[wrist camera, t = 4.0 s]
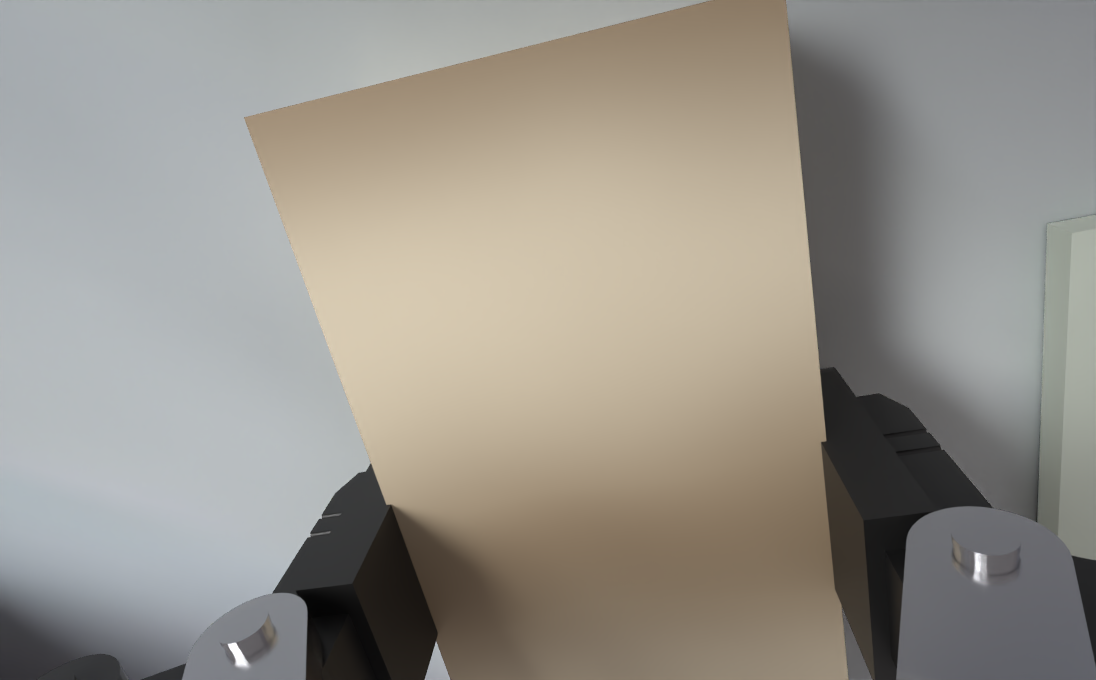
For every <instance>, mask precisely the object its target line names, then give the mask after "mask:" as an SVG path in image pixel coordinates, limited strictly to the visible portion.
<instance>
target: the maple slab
mask: <svg viewBox="0 0 1096 680" xmlns="http://www.w3.org/2000/svg"><path fill="white" fill-rule="evenodd" d="M244 119H245V121H246V124H247V127H248V130H249V132H250V135H251V138H252V140H253V143H254V146H255V149H256V151H257V154H258V157H259V160H260V162H261V165H262V168H263V170H264V173H265V176H266V179H267V181H268V184H269V187H270V189H271V192H272V195H273V198H274V200H275V203H276V206H277V209H278V211H279V214H280V217H281V219H282V222H283V225H284V228H285V230H286V233H287V236H288V238H289V241H290V244H291V247H292V249H293V252H294V255H295V258H296V260H297V263H298V266H299V268H300V271H301V274H302V277H303V279H304V282H305V285H306V287H307V290H308V293H309V296H310V298H311V301H312V304H313V307H314V309H315V312H316V315H317V317H318V320H319V323H320V326H321V328H322V331H323V334H324V336H325V339H326V342H327V345H328V347H329V350H330V353H331V356H332V358H333V361H334V364H335V366H336V369H337V372H338V375H339V377H340V380H341V383H342V385H343V388H344V391H345V394H346V396H347V399H348V402H349V405H350V407H351V410H352V413H353V415H354V418H355V421H356V424H357V426H358V429H359V432H360V434H361V437H362V440H363V443H364V445H365V448H366V451H367V454H368V456H369V459H370V462H371V464H372V467H373V470H374V473H375V475H376V478H377V481H378V483H379V486H380V489H381V492H382V494H383V497H384V500H385V503H386V505H390V504H391V506H392V508H393V511H394V514H395V516H396V519H397V522H398V525H399V527H400V530H401V533H402V536H403V538H404V541H405V544H406V547H407V549H408V552H409V555H410V558H411V560H412V563H413V566H414V569H415V571H416V574H417V577H418V580H419V582H420V585H421V588H422V591H423V593H424V596H425V599H426V602H427V604H428V607H429V610H430V612H431V615H432V618H433V621H434V623H435V626H436V629H437V632H438V636H437V639H436V641H437V644H438V647H439V650H440V652H441V655H442V658H443V660H444V663H445V666H446V669H447V671H448V674H449V677H450V679H451V680H848V670H847V659H846V648H845V637H844V626H843V615H842V605H841V603H840V600H839V598H838V595H837V593H836V591H835V585H834V574H833V564H832V554H831V543H830V533H829V522H828V512H827V501H826V491H825V480H824V470H823V459H822V449H821V442H824V441H826V431H825V420H824V409H823V398H822V387H821V376H820V365H819V354H818V344H817V333H816V322H815V311H814V300H813V289H812V278H811V268H810V257H809V246H808V235H807V224H806V213H805V202H804V191H803V181H802V170H801V159H800V148H799V137H798V126H797V115H796V105H795V94H794V83H793V72H792V61H791V50H790V39H789V28H788V18H787V7H786V0H712V1H708V2H704V3H700V4H696V5H692V6H688V7H684V8H680V9H676V10H672V11H668V12H664V13H660V14H656V15H652V16H648V17H644V18H640V19H636V20H632V21H628V22H624V23H620V24H616V25H612V26H608V27H604V28H600V29H596V30H592V31H588V32H584V33H580V34H576V35H572V36H568V37H564V38H560V39H556V40H552V41H548V42H544V43H540V44H536V45H532V46H528V47H524V48H520V49H516V50H512V51H508V52H504V53H500V54H496V55H492V56H488V57H484V58H480V59H476V60H472V61H468V62H464V63H460V64H456V65H452V66H448V67H444V68H440V69H436V70H432V71H428V72H424V73H420V74H416V75H412V76H408V77H404V78H400V79H396V80H392V81H388V82H384V83H380V84H376V85H372V86H368V87H364V88H360V89H356V90H352V91H348V92H344V93H340V94H336V95H332V96H328V97H324V98H320V99H316V100H312V101H308V102H304V103H300V104H296V105H292V106H288V107H284V108H280V109H276V110H272V111H268V112H264V113H260V114H256V115H252V116H248V117H244Z"/></svg>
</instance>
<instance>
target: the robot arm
mask: <svg viewBox="0 0 1096 680" xmlns="http://www.w3.org/2000/svg"><path fill="white" fill-rule="evenodd" d="M820 376H821V387H822V398H823V409H824V420H825V431H826V441H824V442H821V449H822V459H823V470H824V480H825V491H826V501H827V512H828V522H829V533H830V543H831V554H832V564H833V574H834V585H835V591H836V593H837V595H838V598H839V600H840V603H841V605H842V607H843V610H844V612H845V615H846V617H847V619H848V622H849V624H850V627H851V629H852V631H853V634H854V636H855V638H856V641H857V643H858V646H859V648H860V650H861V653H862V655H863V658H864V660H865V662H866V665H867V667H868V670H869V672H870V674H871V677H872V679H873V680H1096V560H1091V559H1086V558H1081V557H1077V556H1073V555H1071V553H1070V551H1069V549H1068V548H1067V546H1066V545H1065V543H1064V542H1063V541H1062V540H1061V539H1060V538H1059V537H1058V536H1057V535H1055V534H1054V533H1053V532H1051V531H1050V530H1049V529H1047V528H1046V527H1044V526H1042V525H1041V524H1039V523H1037V522H1035V521H1033V520H1031V519H1028V518H1026V517H1024V516H1021V515H1018V514H1015V513H1012V512H1008V511H1004V510H999V509H994V508H992V506H991V505H990V504H989V503H988V502H987V500H986V499H985V498H984V497H983V496H982V494H981V493H980V492H979V491H978V490H977V489H976V487H975V486H974V485H973V484H972V483H971V481H970V480H969V479H968V478H967V477H966V475H965V474H964V473H963V472H962V471H961V470H960V468H959V467H958V466H957V465H956V464H955V462H954V461H953V460H952V459H951V458H950V457H949V455H948V454H947V453H946V452H945V451H944V450H941V448H940V445H939V443H938V442H937V441H936V440H935V439H934V438H933V436H932V435H931V434H930V433H927V432H926V428H925V427H924V426H923V424H922V423H921V422H920V421H919V420H918V419H917V417H916V416H915V415H914V414H913V413H912V411H911V410H910V409H909V408H907V407H905V406H903V405H901V404H899V403H897V402H895V401H893V400H891V399H889V398H887V397H885V396H883V395H881V394H879V393H878V394H872V395H865V396H859V397H856V396H855V395H854V393H853V392H852V391H851V389H850V388H849V386H848V385H847V384H846V382H845V381H844V380H843V378H842V377H841V375H840V374H839V373H838V371H837V370H836V369H835V368H834V367H831V368H825V369H820ZM310 534H311V537H309V538H307V539H306V541H305V542H304V544H303V545H302V547H301V549H300V550H299V552H298V553H297V555H296V556H295V558H294V560H293V561H292V563H291V564H290V566H289V568H288V569H287V571H286V572H285V574H284V576H283V577H282V579H281V580H280V582H279V583H278V585H277V587H276V588H275V590H274V591H273V593H272V594H268V595H264V596H261V597H258V598H255V599H252V600H250V601H247V602H245V603H243V604H241V605H239V606H237V607H235V608H234V609H232V610H230V611H229V612H227V613H226V614H224V615H223V616H222V617H220V618H219V619H218V620H216V621H215V622H214V623H213V624H212V625H211V626H209V627H208V628H207V629H206V630H205V631H204V633H203V634H202V635H201V636H200V637H199V638H198V640H197V641H196V642H195V644H194V645H193V647H192V649H191V651H190V653H189V656H188V659H187V662H186V664H183V665H181V666H178V667H175V668H172V669H170V670H167V671H164V672H161V673H158V674H156V675H153V676H150V677H147V678H145V679H142V680H424V679H425V676H426V673H427V669H428V666H429V663H430V659H431V656H432V652H433V649H434V646H435V642H436V639H437V636H438V632H437V629H436V626H435V623H434V621H433V618H432V615H431V612H430V610H429V607H428V604H427V602H426V599H425V596H424V593H423V591H422V588H421V585H420V582H419V580H418V577H417V574H416V571H415V569H414V566H413V563H412V560H411V558H410V555H409V552H408V549H407V547H406V544H405V541H404V538H403V536H402V533H401V530H400V527H399V525H398V522H397V519H396V516H395V514H394V511H393V508H392V506H391V504H390V505H386V503H385V500H384V497H383V494H382V492H381V489H380V486H379V483H378V481H377V478H376V475H375V473H374V470H373V467H372V464H370V466H369V467H368V469H367V471H366V472H361V473H358V474H357V475H356V476H355V477H354V478H352V479H351V480H350V481H349V482H348V483H347V484H345V485H344V486H343V487H342V488H341V489H340V490H339V491H337V492H336V493H335V495H334V496H333V498H332V499H331V501H330V503H329V504H328V506H327V507H326V509H325V510H324V512H323V514H322V519H319V520H318V522H317V523H316V525H315V526H314V528H313V530H312V531H311V533H310ZM37 680H129V679H128V677H127V675H126V673H125V672H124V670H123V668H122V667H121V665H120V663H119V662H118V661H117V659H116V658H114V657H112V656H110V655H105V654H97V655H91V656H86V657H82V658H79V659H76V660H73V661H71V662H68V663H66V664H64V665H62V666H60V667H57V668H55V669H54V670H52V671H50V672H48V673H46V674H45V675H43V676H42V677H40V678H38V679H37Z"/></svg>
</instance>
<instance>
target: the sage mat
mask: <svg viewBox="0 0 1096 680" xmlns="http://www.w3.org/2000/svg"><path fill="white" fill-rule="evenodd" d="M1037 523H1039V524H1041V525H1042V526H1044V527H1046V528H1047V529H1049V530H1050V531H1051V532H1053V533H1054V534H1055V535H1057V536H1058V537H1059V538H1060V539H1061V540H1062V541H1063V542H1064V543H1065V545H1066V546H1067V548H1068V549H1069V551H1070V553H1071V555H1073V556H1077V557H1081V558H1086V559H1091V560H1096V215H1090V216H1085V217H1080V218H1074V219H1069V220H1064V221H1058V222H1053V223H1048V224H1047V242H1046V273H1045V303H1044V334H1043V365H1042V395H1041V426H1040V456H1039V487H1038V517H1037Z"/></svg>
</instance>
